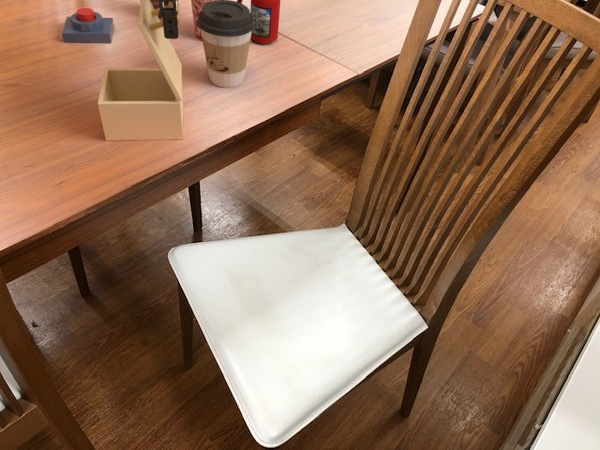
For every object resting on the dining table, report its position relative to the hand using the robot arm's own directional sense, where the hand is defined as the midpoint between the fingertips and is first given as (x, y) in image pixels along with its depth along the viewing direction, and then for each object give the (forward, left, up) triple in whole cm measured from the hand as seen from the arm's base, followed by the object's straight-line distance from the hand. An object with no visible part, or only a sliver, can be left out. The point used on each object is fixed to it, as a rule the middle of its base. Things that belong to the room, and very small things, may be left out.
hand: (171, 25), depth 83 cm
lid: (-2, 0, -4) cm, 5 cm away
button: (-20, +34, -15) cm, 42 cm away
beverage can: (+20, +33, -19) cm, 43 cm away
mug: (+9, +35, -19) cm, 41 cm away
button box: (-20, +34, -19) cm, 44 cm away
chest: (-6, 0, -19) cm, 20 cm away
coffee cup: (+10, +15, -19) cm, 26 cm away
